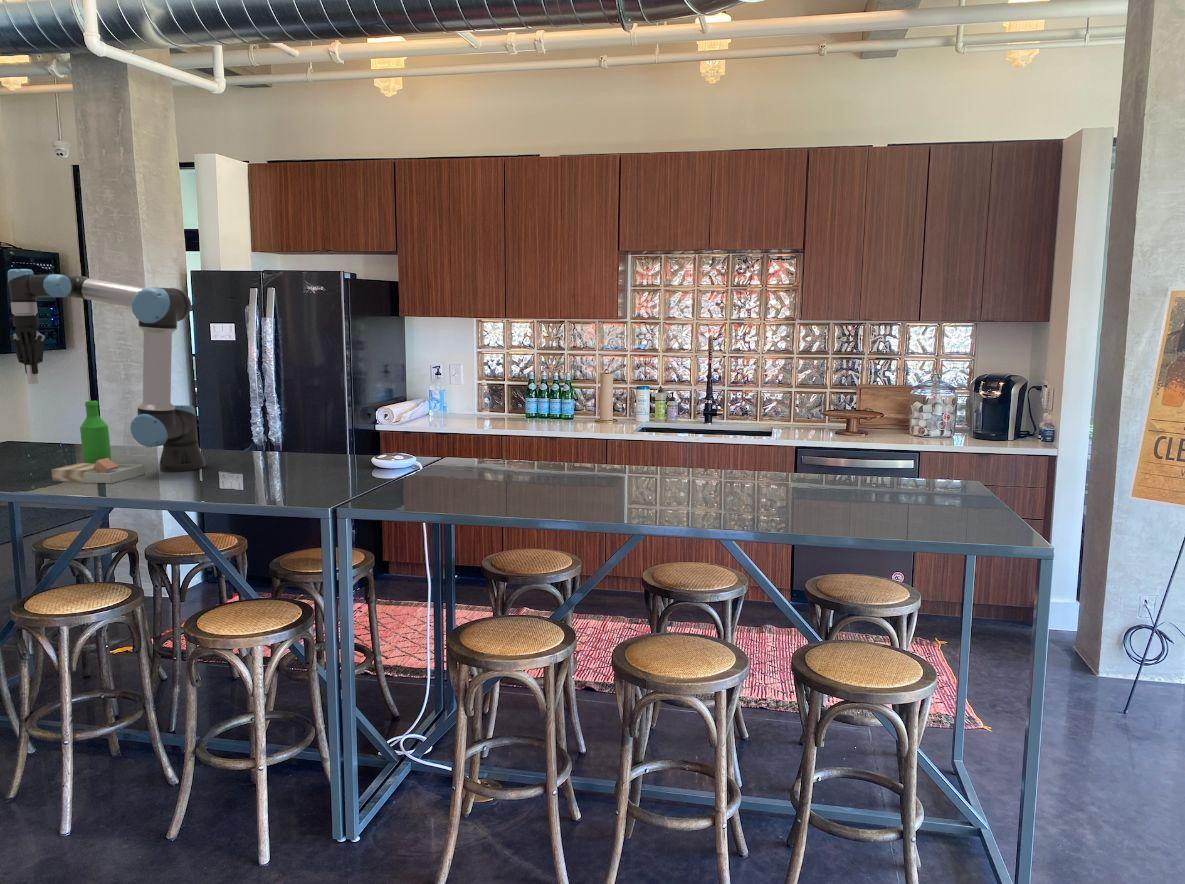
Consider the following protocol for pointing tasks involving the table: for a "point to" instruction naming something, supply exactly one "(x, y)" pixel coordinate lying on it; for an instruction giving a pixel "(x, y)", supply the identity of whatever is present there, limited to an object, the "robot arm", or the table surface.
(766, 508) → the table surface
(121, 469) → the tile slate
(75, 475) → the bench plate
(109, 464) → the tile terracotta
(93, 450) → the bottle
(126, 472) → the box
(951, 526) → the table surface
